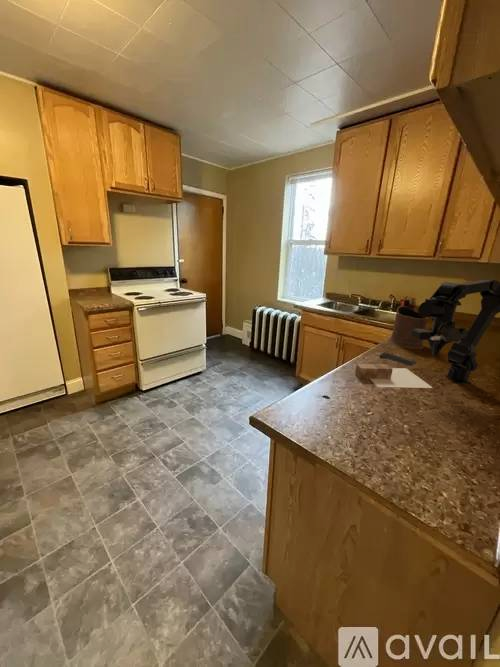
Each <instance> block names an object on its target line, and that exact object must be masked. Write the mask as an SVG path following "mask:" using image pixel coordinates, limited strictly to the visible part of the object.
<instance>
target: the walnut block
mask: <svg viewBox="0 0 500 667" xmlns="http://www.w3.org/2000/svg"><path fill="white" fill-rule="evenodd" d="M392 368H393V367H391V366H389V365H388V364H385V363H384V364H382V363H381V364H376V363H356V366H355V370H354V374H355V375H356V377H357V378H358V379H361V380H362V379H365V380H366V379H367V380H370V379H391V375H392V370H393V369H392Z"/></svg>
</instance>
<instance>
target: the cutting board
mask: <svg viewBox="0 0 500 667" xmlns="http://www.w3.org/2000/svg"><path fill="white" fill-rule="evenodd" d="M391 368H392V369H393V370H392V375H391V379H369V380H370V381H372V383H373V384H374V385H375V386H376V387H377V388H407V389H409V388H411V389H412V388H414V389H415V388H416V389H421V388H422V389H424V388H425V389H434V387H432V386H431V385H430V384H428V382H426V381H424V380H423V379H422V378H420V377H419V376H418V375H416V374H415V373H413V372H412V371H410V370H409V369H408V368H405V367H404V368H401V367H400V368H399V367H398V368H397V367H391Z"/></svg>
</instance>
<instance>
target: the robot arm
mask: <svg viewBox="0 0 500 667" xmlns="http://www.w3.org/2000/svg"><path fill="white" fill-rule="evenodd" d="M477 293H479V295H480V296H481V298H482V299H481V300H480V305H481V309H480V311H479V313H478V314H477V316H476V317H475V319H474V321H473V322H472V324H471V325H470V327H469V328H468V329H467V328H465V327H460V328H459V327H456V321H454V318H455V315H456V310H457V307H458V306H462V302H461V301H460V300H462V299H465V298H466V297H467V295H471V294H477ZM417 312H418V313H419V315H420V316H421V317H423V318H428V319H430V318H431V321H433V323H432V325H433V327H432V328H430V329H429V330H428V331H427V330H426V329H425V330H424V329H414V330H413V331H412V334H411V335H412V336H414V337H416V338H418V339H421V340H423V341H427V342H428V344H429V348H430V351H431V355H432V356H433V357H437V355H438V354H439V353H440V352H441V350H442V349H443V348H444V347H445V345H447V344H449V343H452V345H451V347H450V348H449V350H448V352H447V363H449V364H451V366H450V367H449V370H448V373H447V374H445V377H446V378H448V379H450V381H453V382H454V383H457V384H460V383H461V384H471V380H469V377H470V374H471V372H474V371H475V370H477V368H478V367H479V364H478V362H477V361H476V357H477V345H478V344H479V343H480V340H481V339H482V338H483V336H484V335H485V333H486V331H487V329H488V328H489V326H490V325H491V323H492V322H493V320H494V318H495V317H496V316H497V314H499V313H500V281H499V280H497V279H493V278H482V279H479V280H473V281H466V282H462V283H460V282H449V281H448V282H447V281H445V282H442V283H441V284H440V286H439V287H438V288H437V289H436V290H435V292H434V293H432V295H431V296H430V297H429V298H425V301H424V302H422V303H420V305H419V306H418V307H417Z"/></svg>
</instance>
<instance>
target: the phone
mask: <svg viewBox="0 0 500 667" xmlns="http://www.w3.org/2000/svg"><path fill="white" fill-rule="evenodd" d="M378 357H380V358H379V359H382V358H383V360H390V361H393V362H396V363H400V364H402V365H406V366H410V367H411V366H412V367H413V365H415V364H416V363H417V361H415V360H412V359H408V358H405V357H401V356H399V355H398V356H397V355H396V354H395V355H394V354H391V353H388V352H384V353H382V354H379V356H378Z"/></svg>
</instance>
